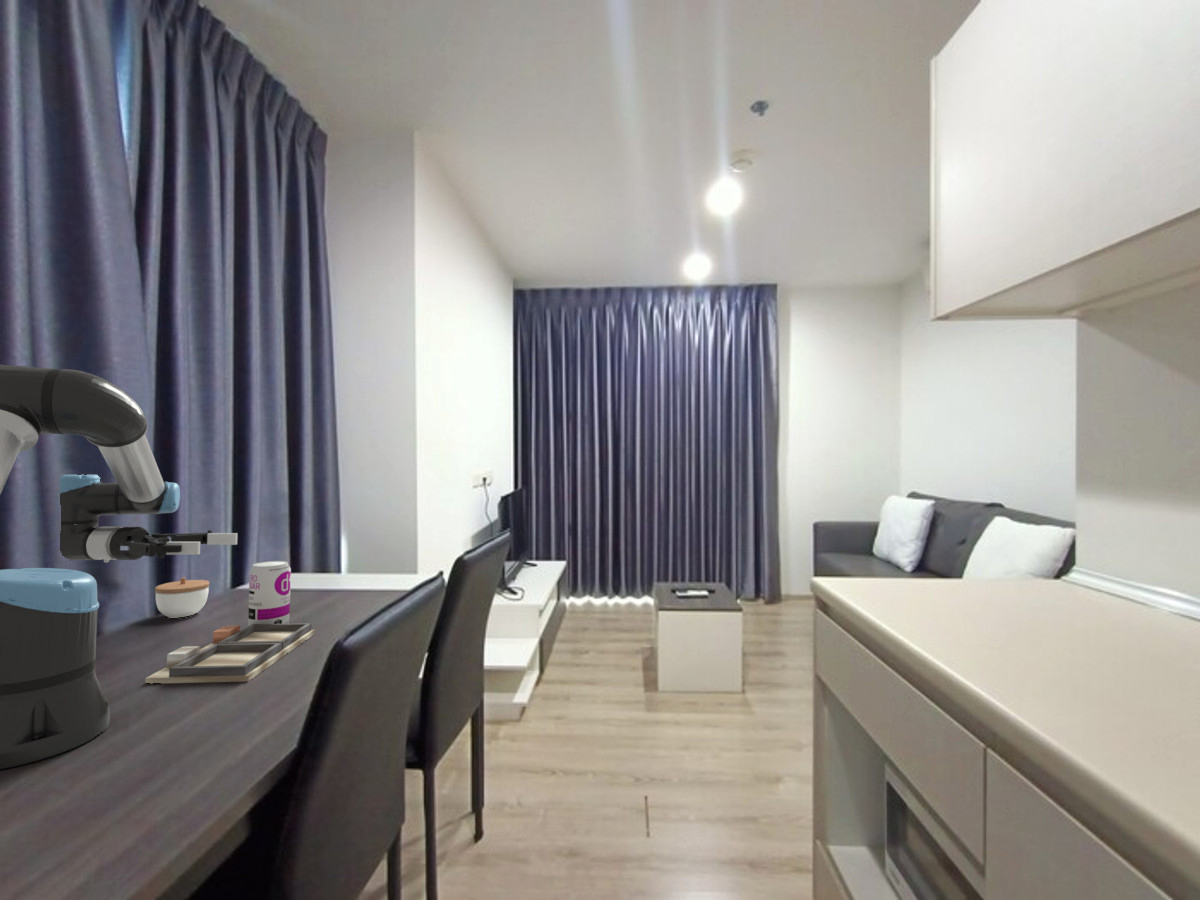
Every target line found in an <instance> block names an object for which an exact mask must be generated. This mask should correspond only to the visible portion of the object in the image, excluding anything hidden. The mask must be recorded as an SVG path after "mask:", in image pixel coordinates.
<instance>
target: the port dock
mask: <svg viewBox="0 0 1200 900" xmlns="http://www.w3.org/2000/svg"><path fill="white" fill-rule="evenodd" d="M312 628H313V627H312V622H311V623H309V622H305V623H304V622H302V623H301V622H300V623H297V622H296V623H295V622H293V623H290V622H289V624H252V625H250V626H248V625H247V627H245V628H242V629H241V625H224V626H222V627H220V628H218V629H216V630H214V631H213V634H212V637H213V638H212V643H209V644H208V645H206V646H204V647H202V648H201V646H200V645H198V646H197V645H196V646H181V647H179V648H177V649H175V650H173V651H170V652H169V653H166V654H167V655H166V657H167V658H166V659H167V661H166V666H165V667H164V668H162V669H160V670H158V671H156V672H154V673H153V674H151V675H149V676H147V677H145V680H144V681H145V683H150V684H151V685H153V683H161V684H190V683H191V684H193V683H195V684H196V683H197V684H198V683H227V682H228V683H231V682H233V683H238V682H250V681H251V680H252V679H254V678H255V677H256V676H258V675H260V674H261V673H262V672H263V671H265V670H267V669H268V668H270V667H271V666H272V665H273V664H275V663H276V662H278V661H279V660H281V659H282V658H283V657H285V656H286V655H288V654H289V653H290V652H291V651H294V650H295V649H296V648H297V647H299V646H301V645H302V644H303V643H305V642H306V641H307V640H308V639H310V638H311V637H313V636H314V635H315V634H316V629H312ZM305 640H306V641H305ZM301 643H302V644H301ZM287 653H288V654H287ZM145 683H144V684H145ZM150 684H149V685H150Z"/></svg>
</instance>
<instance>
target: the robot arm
mask: <svg viewBox="0 0 1200 900" xmlns="http://www.w3.org/2000/svg"><path fill="white" fill-rule="evenodd" d="M148 424H149V423H148V420H147V418H146V415H145V413H144V411H143V409H142V407H140V405H139V404H138V403H137V402H136V401H135V400H134V399H133V398H132V397H131V396H130V395H129V393H127V392H125V390H123V389H121V388H120V387H119V386H117V385H115V384H113V383H112V382H110V381H108V380H107V379H104V378H102V377H101V376H98V375H95V374H92V373H89V372H86V371H83V370H76V369H66V368H64V369H60V368H52V367H51V368H49V367H47V368H46V367H37V366H36V367H34V366H24V365H23V366H22V365H10V364H0V495H1V494H2V492H3V490H4V487H5V485H6V482H7V480H8V478H9V476H10V474H11V471H12V469H13V467H14V464H15V462H16V459H17V457H18V455H19V454H20V453H23V452H26V451H28V450H30V449H32V448H33V447H34V446H36V444H37V442H38V441H39V438H40V436H41V434H43V435H44V434H46V435H49V434H50V435H54V434H55V435H57V434H58V435H77V436H83V437H84V438H85V439H86V440H87V441H88V442H89V443H91V444H93V445H94V446H96V447H98V449H99V452H100V453H101V455H102V457H103V459H104V460H105V462H106V465H107V466H108V468H109V470H110V471H111V473H112V475H113V477H114V479H115V480H116V482H113V483H103V482H104V481H101V482H102V483H101V482H100V479H101V477H99V476H100V475H99V474H87V475H84V474H81V475H77V474H62V475H63V476H61V478H60V481H59V482H60V493H59V494H60V505H61V531H60V532H61V533H60V551H61V553H62V556H64V557H65V558H67V559H70V560H69V561H99V560H100V561H101V560H103V562H104V563H109V562H110V560H111V561H114V560H116V561H117V560H118V561H137V560H140V559H141V558H142V557H150V558H151V557H152V558H153V557H155V556H157V559H164V558H165V556H166V555H167V556H169V555H171V556H172V555H173V556H175V555H176V556H177V555H178V556H181V555H185V556H186V555H191V556H192V555H194V556H195V555H197V556H198V555H201V545H207V546H208V545H210V546H211V545H212V546H218V545H220V546H222V545H223V546H225V545H226V546H227V545H229V546H230V545H233V546H234V545H235V546H236V545H238V532H235V533H234V532H232V533H231V532H224V533H223V532H216V533H215V532H212V530H211V529H208V530H207V532H190V533H186V532H185V533H163V534H161V533H152V534H151V535H150V534H149V531H148V530H147V529H146V528H144V527H141V526H99V522H100V516H114V515H153V514H154V515H161V514H170V513H174V512H176V511H178V509H179V507H180V502H181V501H180V500H181V488H180V484H178V483H176V482H168V481H164V479H163V477H162V474H161V472H160V469H159V467H158V464H157V462H156V459H155V456H154V454H153V451H152V448H151V446H150V443H149V440H148V438H147V435H146V433H147V431H148V427H149V426H148ZM98 475H99V476H98ZM98 517H99V519H98ZM98 521H99V522H98ZM96 522H97V523H96ZM74 524H77V525H74ZM97 583H98V582H97V580H96V578H95V577H94V576H92V575H91V574H90V573H87V572H84V571H81V570H75V569H67V568H57V567H55V568H54V567H53V568H51V567H25V568H24V567H23V568H20V569H19V568H6V569H0V770H4V769H8V768H13V767H17V766H18V767H19V766H22V765H26V764H29V763H34V762H37V761H40V760H43V759H47V758H51V757H53V756H56V755H59V754H63V753H64V752H68V751H69V750H72V749H75V748H76V747H79V746H81V745H83V744H85V743H87V742H89V741H91V740H93V739H94V738H96V737H98V736H99V735H100V734H102V733H103V732H104V731H106V729H108V727H109V725H110V722H111V721H110V715H111V713H110V711H111V707H110V705H109V703H108V701H106V698H105V695H104V693H103V690H102V688H101V685H100V682H99V680H98V678H97V674H96V656H97V655H96V652H97V633H98V632H97V631H98V610H99V608H100V602H99V600H98V584H97ZM101 732H102V733H101ZM98 734H99V735H98ZM97 735H98V736H97ZM95 736H96V737H95Z"/></svg>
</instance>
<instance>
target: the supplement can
mask: <svg viewBox="0 0 1200 900" xmlns="http://www.w3.org/2000/svg"><path fill="white" fill-rule="evenodd" d="M291 573H292V569H291V567H290V565H289V562H288V561H286V560H271V561H261V562H256V563H254V564H252V567H251V568H250V570H249V578H248V579H249V580H248V583H249V584H248V611H247V612H248V616H247V617H248V618H247V627H248V626H250V625H252V624H290V618H291V616H290V613H291V612H290V611H291V576H292V574H291Z"/></svg>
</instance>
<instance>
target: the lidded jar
mask: <svg viewBox="0 0 1200 900" xmlns="http://www.w3.org/2000/svg"><path fill="white" fill-rule="evenodd" d="M186 578H187V577H180V580H177V581H171V582H166V583H162V584H159V585H156V586H155V589H154V592H155V603H156V607H157V609H158V611H159V612H160V613H161V614H163V616H165V617H166V616H167V617H170V618H178V617H184V616H189V615H193V614H195V613H197V614H198V612H200V611H201V610H202V609H203V608H204V606H205V604H206V602H207V601H208V596H209V591H210V581H209V580H205V579H188V580H187V579H186ZM178 619H179V618H178Z"/></svg>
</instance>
